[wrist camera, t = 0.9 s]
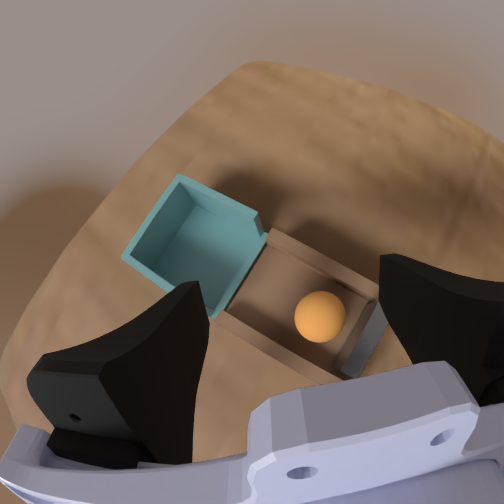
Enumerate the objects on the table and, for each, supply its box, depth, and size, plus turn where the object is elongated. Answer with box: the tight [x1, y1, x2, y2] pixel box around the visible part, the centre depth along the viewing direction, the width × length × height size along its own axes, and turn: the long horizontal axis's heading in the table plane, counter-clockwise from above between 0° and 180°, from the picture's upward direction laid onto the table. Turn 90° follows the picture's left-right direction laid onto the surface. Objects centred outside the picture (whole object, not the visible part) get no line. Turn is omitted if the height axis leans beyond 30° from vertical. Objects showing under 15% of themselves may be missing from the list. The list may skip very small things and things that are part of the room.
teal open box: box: [120, 173, 268, 319], centre depth 24 cm, size 8×8×5 cm
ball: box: [294, 291, 346, 343], centre depth 20 cm, size 4×4×4 cm
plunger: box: [332, 299, 388, 379], centre depth 19 cm, size 1×5×4 cm, turn 148°
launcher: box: [214, 227, 379, 385], centre depth 22 cm, size 11×8×4 cm
